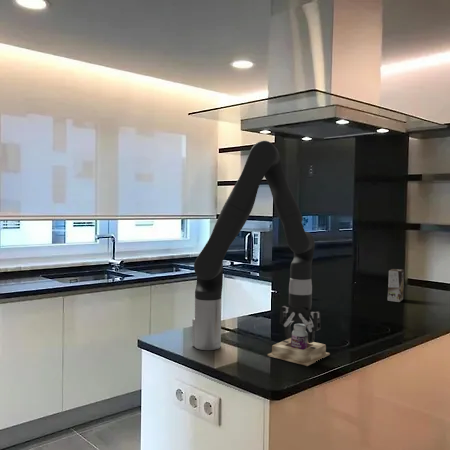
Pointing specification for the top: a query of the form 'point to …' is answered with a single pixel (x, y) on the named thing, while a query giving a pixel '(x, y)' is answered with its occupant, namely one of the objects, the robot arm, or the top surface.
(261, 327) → the top surface
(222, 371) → the top surface
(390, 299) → the coffee box
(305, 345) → the pill bottle
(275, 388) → the top surface
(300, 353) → the holder
